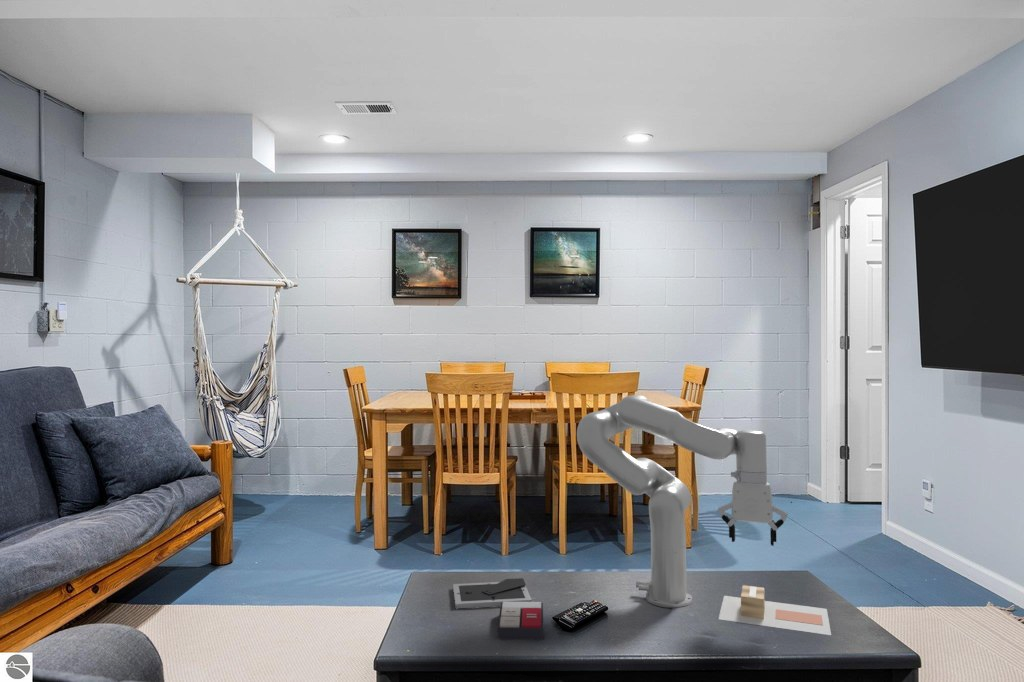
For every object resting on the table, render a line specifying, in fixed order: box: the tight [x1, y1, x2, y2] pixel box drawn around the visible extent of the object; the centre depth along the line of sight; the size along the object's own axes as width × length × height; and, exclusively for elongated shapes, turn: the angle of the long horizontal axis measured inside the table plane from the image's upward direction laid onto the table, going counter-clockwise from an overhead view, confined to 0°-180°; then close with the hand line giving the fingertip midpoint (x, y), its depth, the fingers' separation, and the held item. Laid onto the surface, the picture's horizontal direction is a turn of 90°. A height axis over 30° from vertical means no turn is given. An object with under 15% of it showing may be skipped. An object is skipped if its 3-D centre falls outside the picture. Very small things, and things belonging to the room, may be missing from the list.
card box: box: [740, 584, 766, 619], centre depth 172 cm, size 9×6×5 cm, turn 158°
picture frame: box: [452, 577, 533, 610], centre depth 185 cm, size 16×3×21 cm
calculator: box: [497, 601, 544, 641], centre depth 164 cm, size 11×4×15 cm
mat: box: [718, 595, 832, 636], centre depth 170 cm, size 26×18×1 cm
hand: (752, 542), depth 173 cm, fingers open, 9 cm apart
